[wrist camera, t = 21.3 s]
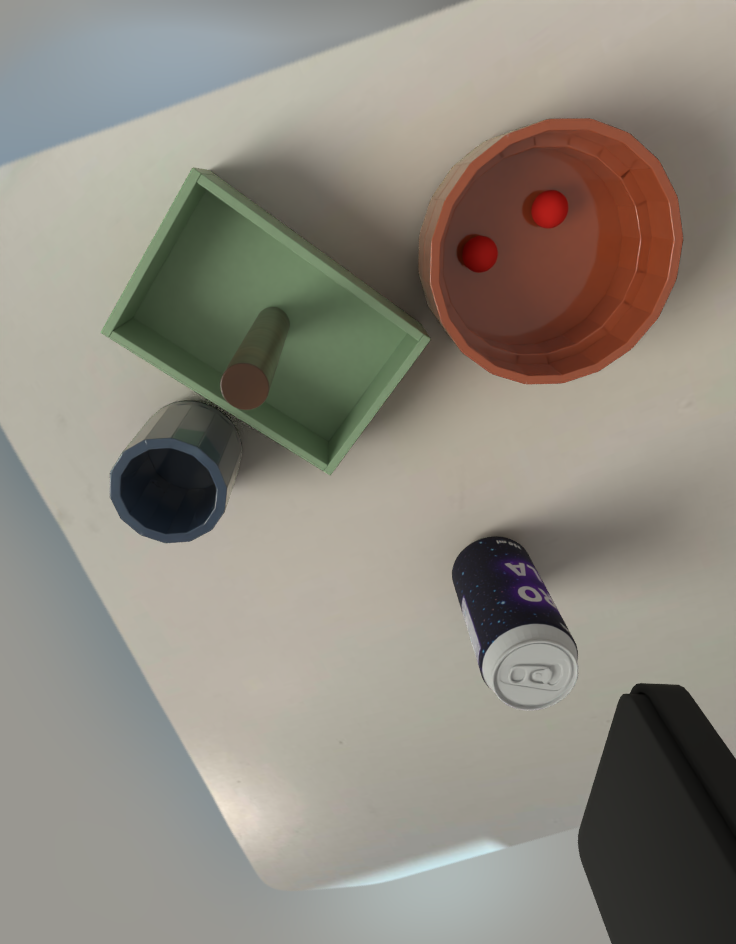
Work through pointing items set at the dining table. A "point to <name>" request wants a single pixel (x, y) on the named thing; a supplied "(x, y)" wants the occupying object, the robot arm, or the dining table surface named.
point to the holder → (177, 473)
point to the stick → (256, 361)
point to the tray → (242, 299)
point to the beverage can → (514, 625)
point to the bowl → (552, 250)
